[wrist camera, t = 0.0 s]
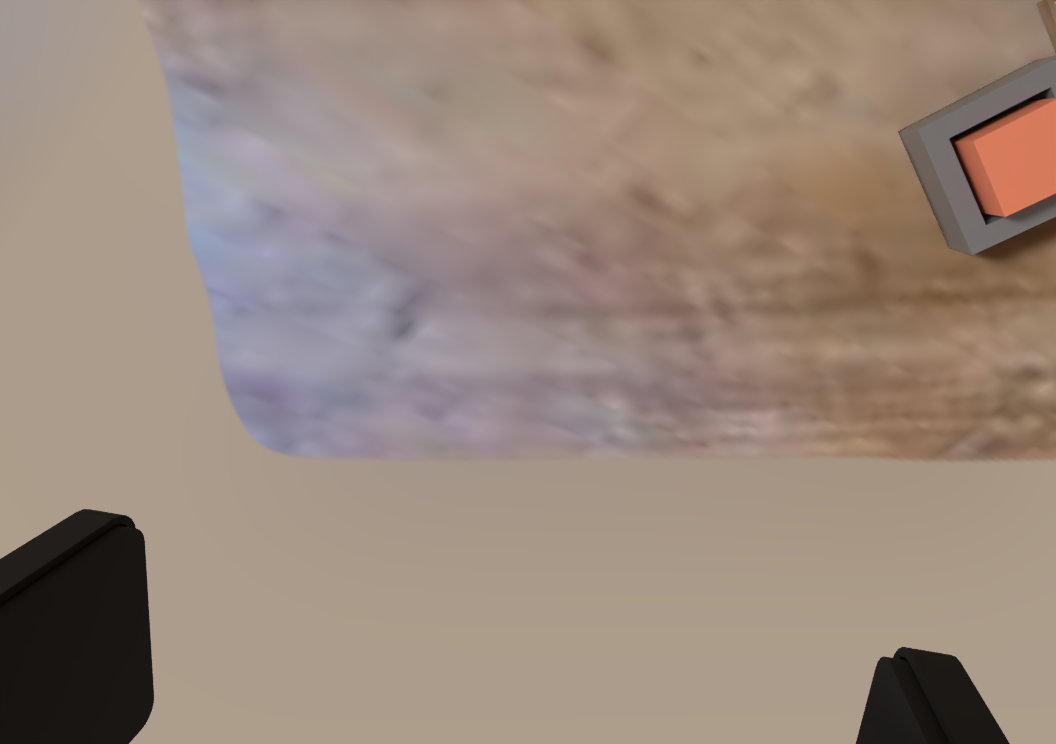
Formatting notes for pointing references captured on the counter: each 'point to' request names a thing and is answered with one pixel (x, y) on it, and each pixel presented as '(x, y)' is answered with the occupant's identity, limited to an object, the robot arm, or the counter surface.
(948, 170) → the button housing
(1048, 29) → the picture board
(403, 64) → the counter surface
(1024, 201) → the button
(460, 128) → the counter surface
